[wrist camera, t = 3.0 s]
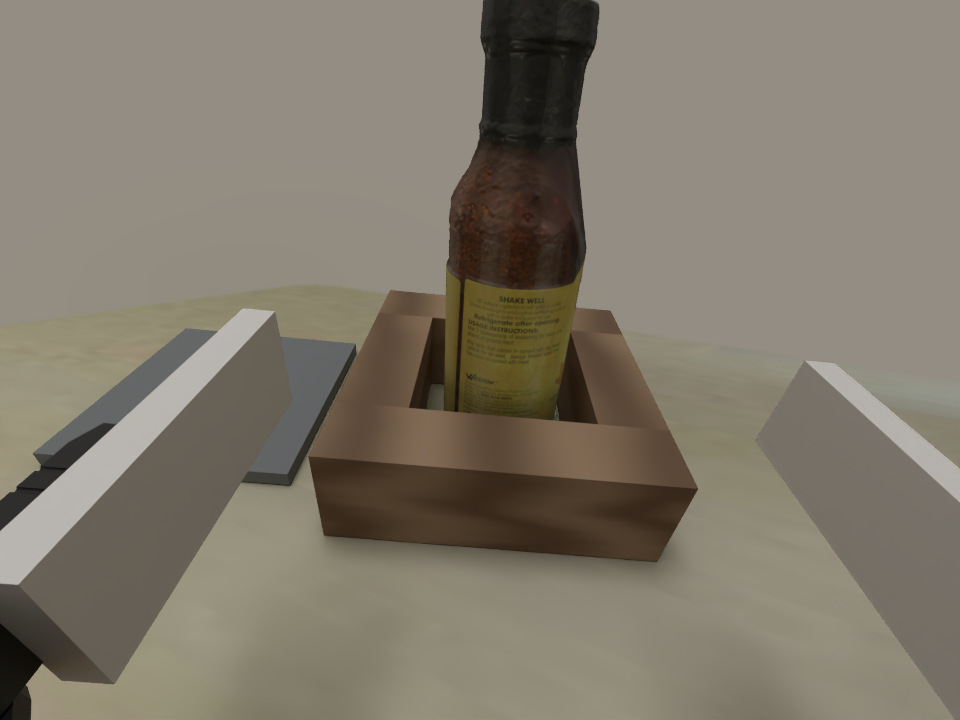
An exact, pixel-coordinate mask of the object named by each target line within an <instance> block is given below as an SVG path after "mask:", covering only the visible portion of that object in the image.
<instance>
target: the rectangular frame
mask: <svg viewBox="0 0 960 720" xmlns="http://www.w3.org/2000/svg"><path fill="white" fill-rule="evenodd" d="M445 320H446V295H435V294H425V293H414V292H402V291H392V290H390V292H389V294H388V296H387V298H386V300H385V302H384V304H383V306H382V308H381V310H380V312H379V314H378V316H377V318H376V320H375V322H374V324H373V326H372V328H371V330H370V332H369V334H368V336H367V338H366V340H365V342H364V344H363V346H362V348H361V350H360V353H359V355H358V357H357V359H356V361H355V363H354V365H353V367H352V369H351V371H350V373H349V375H348V377H347V379H346V381H345V383H344V385H343V387H342V389H341V391H340V393H339V395H338V397H337V399H336V401H335V403H334V405H333V407H332V409H331V411H330V413H329V415H328V417H327V419H326V422H325V424H324V426H323V428H322V430H321V432H320V434H319V436H318V438H317V440H316V442H315V444H314V446H313V448H312V450H311V452H310V454H309V456H308V457H309V462H310V467H311V472H312V477H313V482H314V487H315V492H316V498H317V503H318V508H319V513H320V518H321V523H322V528H323V533H324V535H329V536H341V537H354V538H367V539H379V540H392V541H404V542H417V543H430V544H442V545H455V546H467V547H480V548H493V549H505V550H518V551H531V552H543V553H556V554H568V555H581V556H594V557H606V558H619V559H631V560H644V561H657V560H658V559H659V557H660V555H661V553H662V552H663V550H664V548H665V546H666V545H667V543H668V541H669V539H670V538H671V536H672V534H673V532H674V531H675V529H676V527H677V525H678V523H679V522H680V520H681V518H682V516H683V515H684V513H685V511H686V509H687V508H688V506H689V504H690V502H691V501H692V499H693V497H694V495H695V494H696V492H697V490H698V487H697V485H696V483H695V481H694V479H693V477H692V475H691V473H690V471H689V469H688V467H687V465H686V463H685V461H684V459H683V457H682V455H681V453H680V451H679V449H678V447H677V445H676V443H675V441H674V439H673V437H672V435H671V433H670V431H669V429H668V427H667V424H666V422H665V420H664V418H663V416H662V414H661V412H660V410H659V408H658V406H657V404H656V402H655V400H654V398H653V396H652V394H651V392H650V390H649V388H648V386H647V384H646V382H645V380H644V378H643V376H642V374H641V372H640V370H639V368H638V366H637V364H636V362H635V360H634V357H633V355H632V353H631V351H630V349H629V347H628V345H627V343H626V341H625V339H624V337H623V335H622V333H621V331H620V329H619V327H618V325H617V323H616V321H615V319H614V317H613V315H612V313H611V311H607V310H596V309H585V308H576V309H575V313H574V317H573V322H572V327H571V333H570V338H569V343H568V348H567V353H566V358H565V363H564V368H563V374H562V379H561V384H560V389H559V394H558V399H557V406H558V411H559V417H560V421H554V420H542V419H531V418H519V417H508V416H496V415H485V414H473V413H461V412H450V411H438V410H427V409H425V407H426V402H427V397H428V393H429V388H430V383H439V384H444V377H445Z"/></svg>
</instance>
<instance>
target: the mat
mask: <svg viewBox="0 0 960 720" xmlns="http://www.w3.org/2000/svg"><path fill="white" fill-rule="evenodd" d="M217 332H218V331H208V330H197V329H185V330H184V331H182V332H181V333H180V334H179V335H178V336H176V337H175V338H174V339H173V340H171V341H170V342H169V343H168V344H166V345H165V346H164V347H163V348H162V349H160V350H159V351H158V352H157V353H155V354H154V355H153V356H152V357H150V358H149V359H148V360H147V361H146V362H144V363H143V364H142V365H141V366H139V367H138V368H137V369H136V370H134V371H133V372H132V373H131V374H130V375H128V376H127V377H126V378H125V379H123V380H122V381H121V382H120V383H119V384H117V385H116V386H115V387H114V388H112V389H111V390H110V391H109V392H107V393H106V394H105V395H104V396H103V397H101V398H100V399H99V400H98V401H96V402H95V403H94V404H93V405H91V406H90V407H89V408H88V409H87V410H85V411H84V412H83V413H82V414H80V415H79V416H78V417H77V418H75V419H74V420H73V421H72V422H71V423H69V424H68V425H67V426H66V427H64V428H63V429H62V430H61V431H60V432H58V433H57V434H56V435H55V436H53V437H52V438H51V439H50V440H48V441H47V442H46V443H45V444H44V445H42V446H41V447H40V448H39V449H37V450H36V451H35V452H34V453H33V455H34V456H35V457H36V459H37V460H38V462H39V463H40V464H41V465H42V464H44V463H45V462H46V461H47V460H48V459H49V458H51V457H52V456H53V455H54V454H55V453H56V452H58V451H59V450H60V449H61V448H62V447H63V446H65V445H66V444H67V443H68V442H70V441H71V440H73V439H75V438H77V437H79V436H81V435H82V434H84V433H86V432H88V431H90V430H92V429H93V428H95V427H97V426H99V425H101V424H102V423H111V424H118V423H119V422H120V421H121V420H122V419H123V418H124V417H125V416H126V415H127V414H129V413H130V412H131V411H132V410H133V409H134V408H135V407H136V406H137V405H138V404H139V403H141V402H142V401H143V400H144V399H145V398H146V397H147V396H148V395H149V394H150V393H151V392H153V391H154V390H155V389H156V388H157V387H158V386H159V385H160V384H161V383H162V382H163V381H165V380H166V379H167V378H168V377H169V376H170V375H171V374H172V373H173V372H174V371H175V370H177V369H178V368H179V367H180V366H181V365H182V364H183V363H184V362H185V361H186V360H187V359H189V358H190V357H191V356H192V355H193V354H194V353H195V352H196V351H197V350H198V349H199V348H201V347H202V346H203V345H204V344H205V343H206V342H207V341H208V340H209V339H210V338H211V337H213V336H214V335H215V334H216V333H217ZM280 339H281V344H282V349H283V354H284V359H285V364H286V369H287V374H288V379H289V383H290V388H291V393H292V398H293V400H292V402H291V403H290V405H289V407H288V408H287V410H286V411H285V413H284V415H283V416H282V418H281V419H280V421H279V423H278V424H277V426H276V427H275V429H274V431H273V432H272V434H271V435H270V437H269V439H268V440H267V442H266V443H265V445H264V446H263V448H262V450H261V451H260V453H259V454H258V456H257V458H256V459H255V461H254V462H253V464H252V466H251V467H250V469H249V470H248V472H247V474H246V475H245V477H244V478H243V480H242V481H243V482H255V483H267V484H279V485H290V484H291V482H292V480H293V478H294V476H295V474H296V472H297V470H298V468H299V466H300V464H301V462H302V460H303V458H304V456H305V454H306V452H307V450H308V448H309V446H310V444H311V442H312V440H313V438H314V436H315V434H316V433H317V431H318V429H319V427H320V425H321V423H322V421H323V419H324V417H325V415H326V413H327V411H328V409H329V407H330V405H331V403H332V401H333V399H334V397H335V395H336V393H337V391H338V389H339V387H340V385H341V383H342V381H343V379H344V377H345V375H346V373H347V371H348V369H349V367H350V365H351V363H352V361H353V359H354V357H355V355H356V344H353V343H342V342H330V341H319V340H308V339H297V338H286V337H280Z"/></svg>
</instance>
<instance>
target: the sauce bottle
mask: <svg viewBox="0 0 960 720" xmlns="http://www.w3.org/2000/svg"><path fill="white" fill-rule="evenodd" d="M598 20H599V4H598V3H597V2H596V1H594V0H484V1H483V12H482V21H481V37H480V38H481V42H482V46H483V49H484V52H485V76H484V91H483V109H482V119H481V122H480V123H479V129H480V139H479V142H478V146H477V149H476V151H475V154H474V156H473V158H472V161H471V164H470V166H469V168H468V169H467V171H466V173H465V174H464V175H463V176H462V179H461V180H460V182H459V183H458V185H457V187H456V189H455V190H454V193H453V195H452V197H451V209H450V217H449V223H450V229H449V230H450V240H449V259H448V261H447V265H446V320H445V377H444V411H450V412H461V413H473V414H485V415H496V416H508V417H519V418H531V419H542V420H553V419H554V413H555V409H556V404H557V399H558V394H559V389H560V384H561V379H562V374H563V368H564V363H565V358H566V353H567V348H568V343H569V338H570V333H571V327H572V322H573V317H574V313H575V309H576V302H577V297H578V291H579V286H580V282H581V277H582V271H583V265H584V260H585V254H586V241H585V230H584V220H583V210H582V199H581V189H580V179H579V168H578V158H577V149H576V138H577V128H576V125H577V120H578V112H579V107H580V101H581V94H582V87H583V81H584V73H585V69H586V65H587V62H588V60H589V58H590V56H591V54H592V52H593V50H594V47H595V44H596V39H597V26H598Z"/></svg>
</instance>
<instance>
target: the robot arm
mask: <svg viewBox="0 0 960 720" xmlns="http://www.w3.org/2000/svg"><path fill="white" fill-rule="evenodd" d="M292 400H293V398H292V393H291V388H290V383H289V379H288V374H287V369H286V364H285V359H284V354H283V349H282V344H281V339H280V334H279V329H278V324H277V319H276V314H275V311H264V310H254V309H242V310H241V311H240V312H239V313H238V314H237V315H235V316H234V317H233V318H232V319H231V320H230V321H229V322H228V323H227V324H226V325H225V326H223V327H222V328H221V329H220V330H219V331H218V332H217V333H216V334H215V335H214V336H213V337H211V338H210V339H209V340H208V341H207V342H206V343H205V344H204V345H203V346H202V347H201V348H199V349H198V350H197V351H196V352H195V353H194V354H193V355H192V356H191V357H190V358H189V359H187V360H186V361H185V362H184V363H183V364H182V365H181V366H180V367H179V368H178V369H177V370H175V371H174V372H173V373H172V374H171V375H170V376H169V377H168V378H167V379H166V380H165V381H163V382H162V383H161V384H160V385H159V386H158V387H157V388H156V389H155V390H154V391H153V392H151V393H150V394H149V395H148V396H147V397H146V398H145V399H144V400H143V401H142V402H141V403H139V404H138V405H137V406H136V407H135V408H134V409H133V410H132V411H131V412H130V413H129V414H127V415H126V416H125V417H124V418H123V419H122V420H121V421H120V422H119V423H118V424H111V423H102V424H101V425H99V426H97V427H95V428H93V429H92V430H90V431H88V432H86V433H84V434H82V435H81V436H79V437H77V438H75V439H73V440H71V441H70V442H68V443H67V444H66V445H65V446H63V447H62V448H61V449H60V450H59V451H58V452H56V453H55V454H54V455H53V456H52V457H51V458H49V459H48V460H47V461H46V462H45V463H44V464H42V465H41V469H40V470H39V471H34V472H33V473H32V474H31V475H30V476H28V477H27V478H26V479H25V480H24V481H23V482H21V483H20V484H19V485H18V486H17V489H16V491H15V492H10V493H8V494H7V495H6V496H5V497H4V498H3V499H1V500H0V720H31V698H30V694H29V691H28V687H27V686H26V684H27V682H28V681H29V680H30V679H31V677H32V676H33V675H34V673H35V672H36V671H37V669H38V668H39V667H40V666H41V664H43V665H45V666H46V667H47V668H48V669H49V670H50V671H51V672H52V673H54V674H55V675H56V676H57V677H58V678H59V679H60V680H62V681H76V682H90V683H104V684H115V682H116V681H117V679H118V678H119V676H120V674H121V673H122V671H123V670H124V668H125V666H126V665H127V663H128V662H129V660H130V658H131V657H132V655H133V654H134V652H135V651H136V649H137V647H138V646H139V644H140V643H141V641H142V639H143V638H144V636H145V635H146V633H147V631H148V630H149V628H150V627H151V625H152V623H153V622H154V620H155V619H156V617H157V615H158V614H159V612H160V611H161V609H162V607H163V606H164V604H165V603H166V601H167V600H168V598H169V596H170V595H171V593H172V592H173V590H174V588H175V587H176V585H177V584H178V582H179V580H180V579H181V577H182V576H183V574H184V572H185V571H186V569H187V568H188V566H189V564H190V563H191V561H192V560H193V558H194V556H195V555H196V553H197V552H198V550H199V548H200V547H201V545H202V544H203V542H204V541H205V539H206V537H207V536H208V534H209V533H210V531H211V529H212V528H213V526H214V525H215V523H216V521H217V520H218V518H219V517H220V515H221V513H222V512H223V510H224V509H225V507H226V505H227V504H228V502H229V501H230V499H231V497H232V496H233V494H234V493H235V491H236V490H237V488H238V486H239V485H240V483H241V482H242V480H243V478H244V477H245V475H246V474H247V472H248V470H249V469H250V467H251V466H252V464H253V462H254V461H255V459H256V458H257V456H258V454H259V453H260V451H261V450H262V448H263V446H264V445H265V443H266V442H267V440H268V439H269V437H270V435H271V434H272V432H273V431H274V429H275V427H276V426H277V424H278V423H279V421H280V419H281V418H282V416H283V415H284V413H285V411H286V410H287V408H288V407H289V405H290V403H291V402H292ZM755 441H756V442H757V444H758V445H759V447H760V448H761V449H762V451H763V452H764V453H765V455H766V456H767V458H768V459H769V460H770V462H771V463H772V465H773V466H774V467H775V469H776V470H777V472H778V473H779V474H780V476H781V477H782V479H783V480H784V481H785V483H786V484H787V486H788V487H789V488H790V490H791V491H792V493H793V494H794V495H795V497H796V498H797V500H798V501H799V502H800V504H801V505H802V507H803V508H804V509H805V511H806V512H807V513H808V515H809V516H810V518H811V519H812V520H813V522H814V523H815V525H816V526H817V527H818V529H819V530H820V532H821V533H822V534H823V536H824V537H825V539H826V540H827V541H828V543H829V544H830V546H831V547H832V548H833V550H834V551H835V553H836V554H837V555H838V557H839V558H840V560H841V561H842V562H843V564H844V565H845V567H846V568H847V569H848V571H849V572H850V573H851V575H852V576H853V578H854V579H855V580H856V582H857V583H858V585H859V586H860V587H861V589H862V590H863V592H864V593H865V594H866V596H867V597H868V599H869V600H870V601H871V603H872V604H873V606H874V607H875V608H876V610H877V611H878V613H879V614H880V615H881V617H882V618H883V620H884V621H885V622H886V624H887V625H888V627H889V628H890V629H891V631H892V632H893V633H894V635H895V636H896V638H897V639H898V640H899V642H900V643H901V645H902V646H903V647H904V649H905V650H906V652H907V653H908V654H909V656H910V657H911V659H912V660H913V661H914V663H915V664H916V666H917V667H918V668H919V670H920V671H921V673H922V674H923V675H924V677H925V678H926V680H927V681H928V682H929V684H930V685H931V686H932V688H933V689H934V691H935V692H936V693H937V695H938V696H939V698H940V699H941V700H942V702H943V703H944V705H945V706H946V707H947V709H948V710H949V712H950V713H951V714H952V716H953V717H954V719H955V720H960V469H959V468H958V467H957V466H956V465H955V464H954V463H952V462H951V461H950V460H949V459H948V458H946V457H945V456H944V455H943V454H942V453H940V452H939V451H938V450H937V449H936V448H935V447H933V446H932V445H931V444H930V443H929V442H927V441H926V440H925V439H924V438H923V437H921V436H920V435H919V434H918V433H917V432H916V431H914V430H913V429H912V428H911V427H910V426H908V425H907V424H906V423H905V422H904V421H902V420H901V419H900V418H899V417H898V416H897V415H895V414H894V413H893V412H892V411H891V410H889V409H888V408H887V407H886V406H885V405H883V404H882V403H881V402H880V401H879V400H877V399H876V398H875V397H874V396H873V395H872V394H870V393H869V392H868V391H867V390H866V389H864V388H863V387H862V386H861V385H860V384H858V383H857V382H856V381H855V380H854V379H853V378H851V377H850V376H849V375H848V374H847V373H845V372H844V371H843V370H842V369H841V368H839V367H838V366H837V365H836V364H835V363H825V362H814V361H804V363H803V364H802V366H801V367H800V369H799V371H798V372H797V374H796V375H795V377H794V379H793V380H792V382H791V383H790V385H789V387H788V388H787V390H786V391H785V393H784V395H783V396H782V398H781V399H780V401H779V403H778V404H777V406H776V407H775V409H774V411H773V412H772V414H771V416H770V417H769V419H768V420H767V422H766V424H765V425H764V427H763V428H762V430H761V432H760V433H759V435H758V436H757V438H756V440H755Z"/></svg>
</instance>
